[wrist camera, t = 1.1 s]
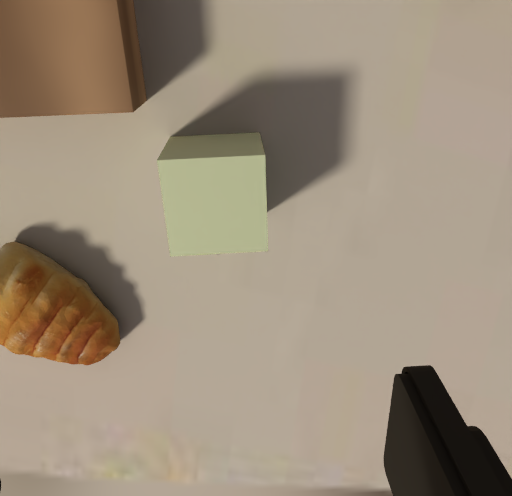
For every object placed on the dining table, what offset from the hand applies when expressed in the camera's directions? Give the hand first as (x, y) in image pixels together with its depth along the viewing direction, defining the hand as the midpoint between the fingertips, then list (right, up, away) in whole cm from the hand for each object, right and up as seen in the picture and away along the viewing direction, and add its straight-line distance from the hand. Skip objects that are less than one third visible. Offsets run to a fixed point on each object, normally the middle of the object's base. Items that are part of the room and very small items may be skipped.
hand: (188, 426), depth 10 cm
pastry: (-12, +1, +20) cm, 23 cm away
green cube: (-1, +8, +16) cm, 18 cm away
